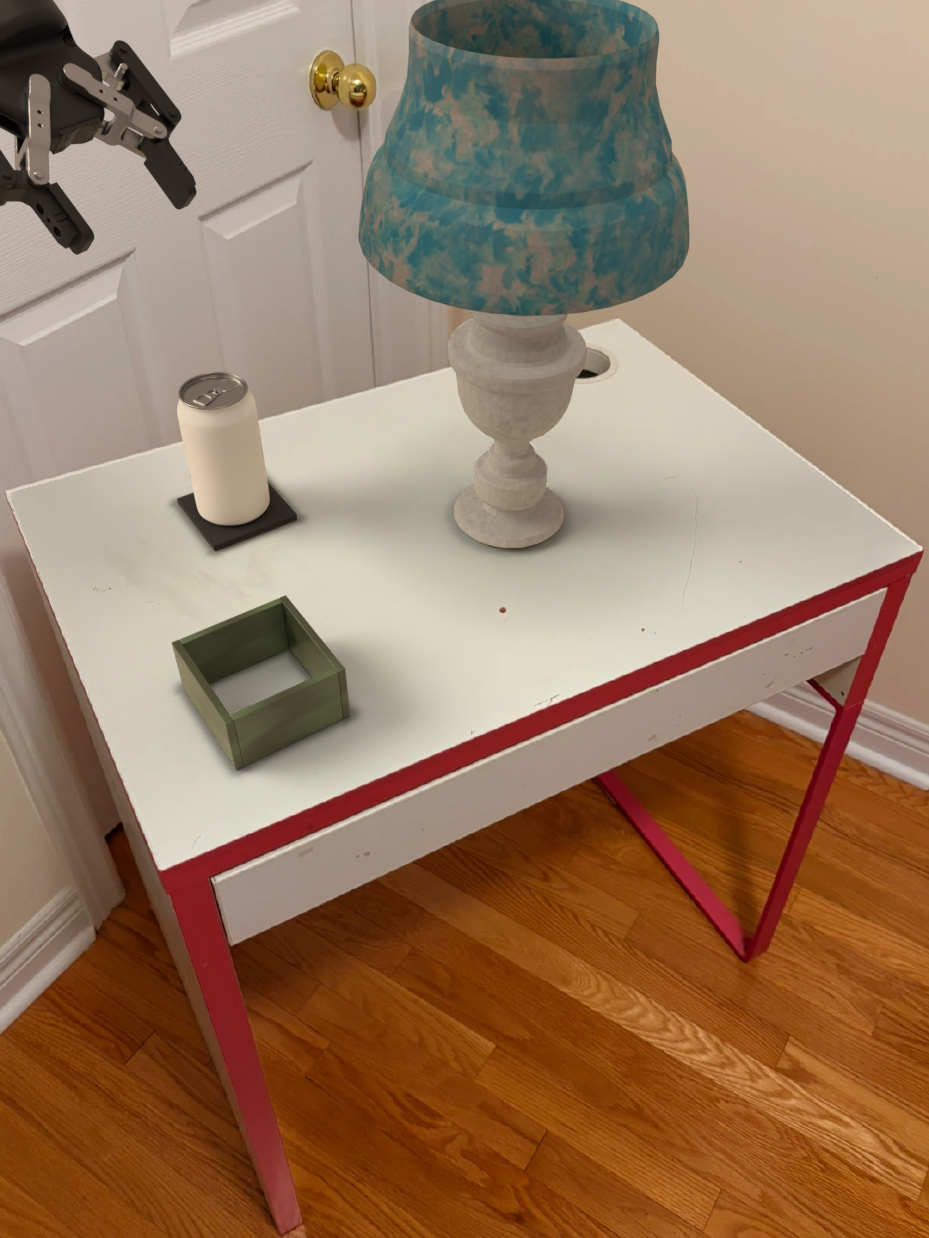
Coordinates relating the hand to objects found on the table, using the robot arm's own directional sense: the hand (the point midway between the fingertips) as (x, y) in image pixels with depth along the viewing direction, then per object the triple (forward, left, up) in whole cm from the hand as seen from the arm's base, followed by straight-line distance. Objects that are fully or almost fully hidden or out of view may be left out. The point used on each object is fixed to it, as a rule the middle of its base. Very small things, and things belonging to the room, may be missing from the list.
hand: (139, 223), depth 67 cm
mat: (+6, +7, -30) cm, 32 cm away
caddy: (-2, -15, -30) cm, 34 cm away
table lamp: (+26, -7, -31) cm, 40 cm away
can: (+5, +7, -30) cm, 31 cm away
